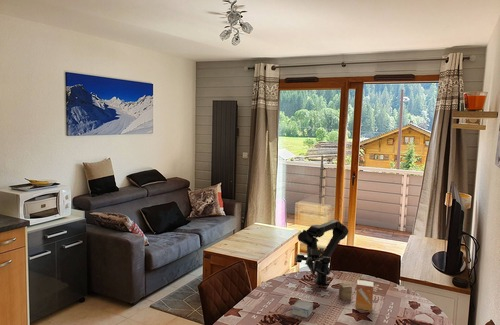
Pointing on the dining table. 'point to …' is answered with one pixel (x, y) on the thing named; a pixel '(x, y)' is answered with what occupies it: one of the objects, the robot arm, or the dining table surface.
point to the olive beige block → (345, 291)
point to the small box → (364, 295)
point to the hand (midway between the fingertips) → (313, 275)
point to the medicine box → (302, 308)
